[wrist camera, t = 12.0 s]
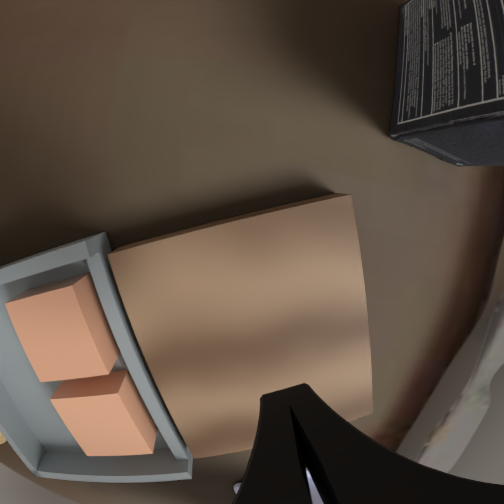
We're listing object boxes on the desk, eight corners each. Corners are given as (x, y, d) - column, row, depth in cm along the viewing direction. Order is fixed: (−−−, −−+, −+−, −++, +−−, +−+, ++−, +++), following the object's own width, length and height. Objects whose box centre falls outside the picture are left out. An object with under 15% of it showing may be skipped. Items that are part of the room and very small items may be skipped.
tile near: (120, 352, 17) (109, 374, 14) (56, 361, 17) (40, 382, 14) (90, 271, 16) (72, 285, 13) (26, 289, 15) (4, 303, 13)
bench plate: (361, 396, 20) (372, 412, 18) (195, 438, 19) (194, 458, 17) (336, 193, 17) (350, 194, 15) (119, 246, 16) (107, 254, 14)
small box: (462, 171, 17) (591, 178, 7) (385, 139, 16) (529, 113, 6) (467, 43, 15) (565, 6, 5) (397, 3, 15) (489, -69, 4)
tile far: (157, 428, 18) (152, 453, 16) (96, 433, 18) (87, 456, 16) (127, 369, 17) (117, 393, 15) (64, 378, 17) (49, 399, 14)
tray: (193, 448, 19) (191, 478, 16) (46, 453, 19) (35, 476, 16) (106, 231, 16) (84, 240, 13) (-43, 283, 15) (-68, 295, 12)
